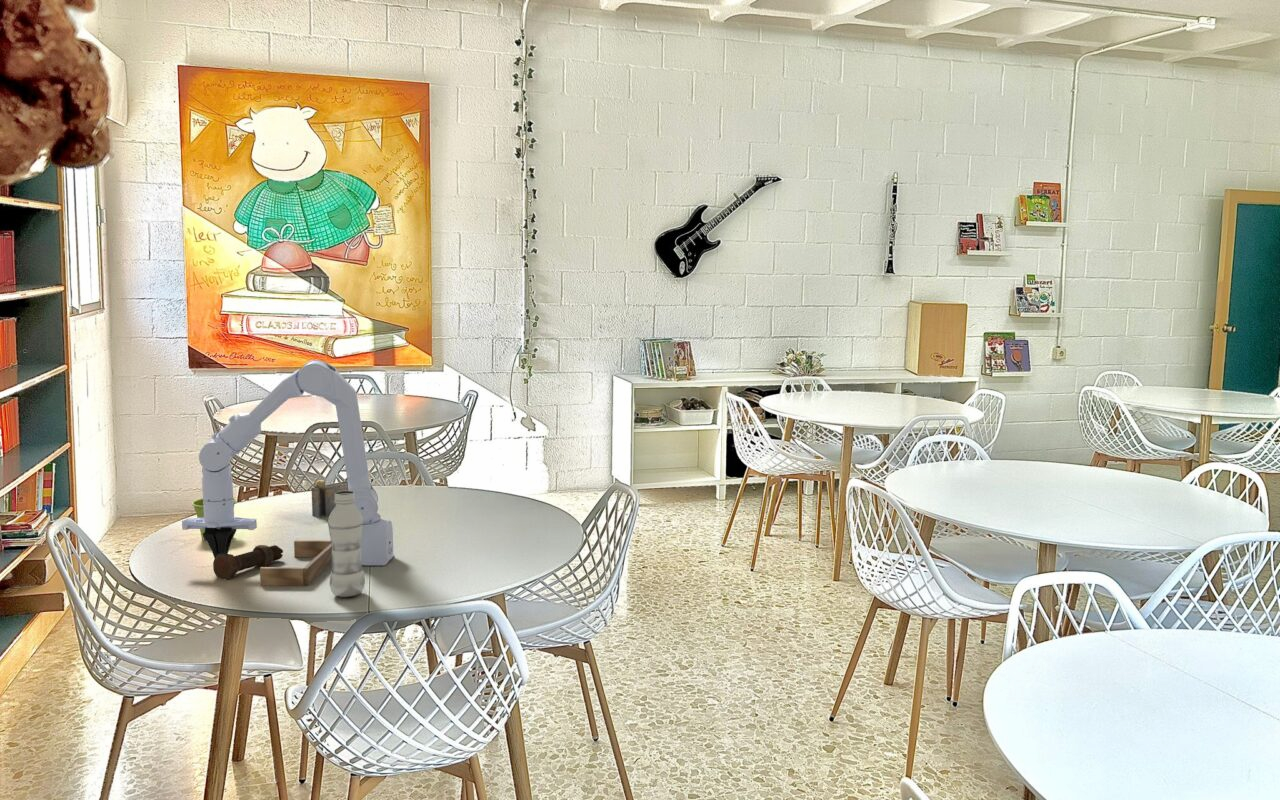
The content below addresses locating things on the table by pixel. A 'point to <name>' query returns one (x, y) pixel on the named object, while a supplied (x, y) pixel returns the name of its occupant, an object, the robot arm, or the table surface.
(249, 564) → the bolt
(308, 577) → the frame
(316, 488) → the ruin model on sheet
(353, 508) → the plastic bottle
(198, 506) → the plant pot
